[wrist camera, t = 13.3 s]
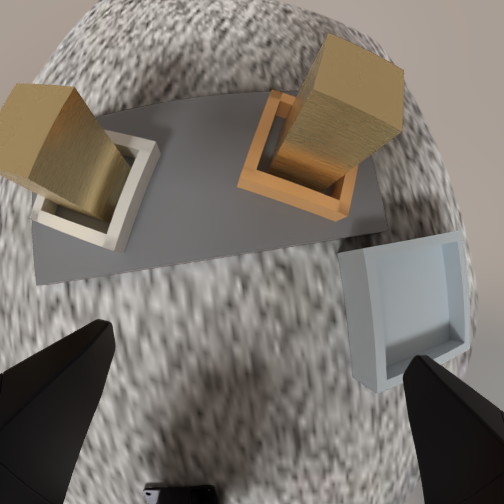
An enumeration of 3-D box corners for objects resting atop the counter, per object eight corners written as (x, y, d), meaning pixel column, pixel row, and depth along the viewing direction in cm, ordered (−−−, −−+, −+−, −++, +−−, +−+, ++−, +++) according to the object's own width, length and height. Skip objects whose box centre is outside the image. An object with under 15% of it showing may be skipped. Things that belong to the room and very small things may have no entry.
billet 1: (110, 223, 18) (27, 178, 8) (65, 207, 17) (-24, 162, 7) (131, 168, 18) (74, 86, 8) (86, 156, 18) (16, 83, 8)
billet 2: (320, 193, 20) (401, 131, 10) (266, 173, 19) (312, 88, 9) (331, 145, 20) (403, 70, 10) (281, 126, 20) (328, 33, 10)
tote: (441, 341, 22) (470, 348, 18) (352, 377, 21) (377, 393, 17) (431, 235, 23) (461, 230, 19) (337, 253, 21) (362, 248, 17)
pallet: (378, 233, 22) (403, 226, 18) (46, 284, 18) (21, 286, 15) (344, 101, 22) (360, 80, 19) (44, 143, 19) (25, 126, 15)
